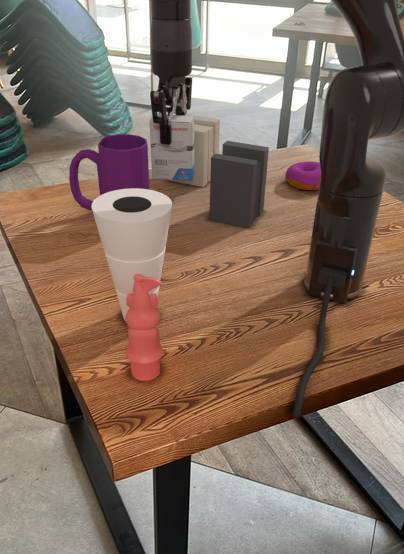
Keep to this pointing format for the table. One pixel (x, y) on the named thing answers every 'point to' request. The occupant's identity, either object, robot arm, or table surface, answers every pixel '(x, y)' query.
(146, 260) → the cup
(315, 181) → the donut
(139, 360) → the figurine
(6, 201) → the table surface
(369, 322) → the table surface
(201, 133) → the cream books
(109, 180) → the mug
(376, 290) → the table surface
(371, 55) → the robot arm
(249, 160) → the grey books
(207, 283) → the table surface
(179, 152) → the ink box
